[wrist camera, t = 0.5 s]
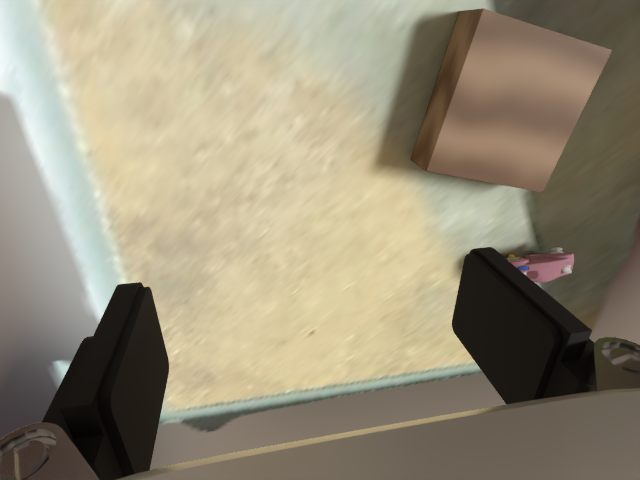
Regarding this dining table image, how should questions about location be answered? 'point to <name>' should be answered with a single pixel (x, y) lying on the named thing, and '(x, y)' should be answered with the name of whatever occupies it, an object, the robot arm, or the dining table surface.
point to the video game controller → (544, 265)
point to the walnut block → (506, 100)
